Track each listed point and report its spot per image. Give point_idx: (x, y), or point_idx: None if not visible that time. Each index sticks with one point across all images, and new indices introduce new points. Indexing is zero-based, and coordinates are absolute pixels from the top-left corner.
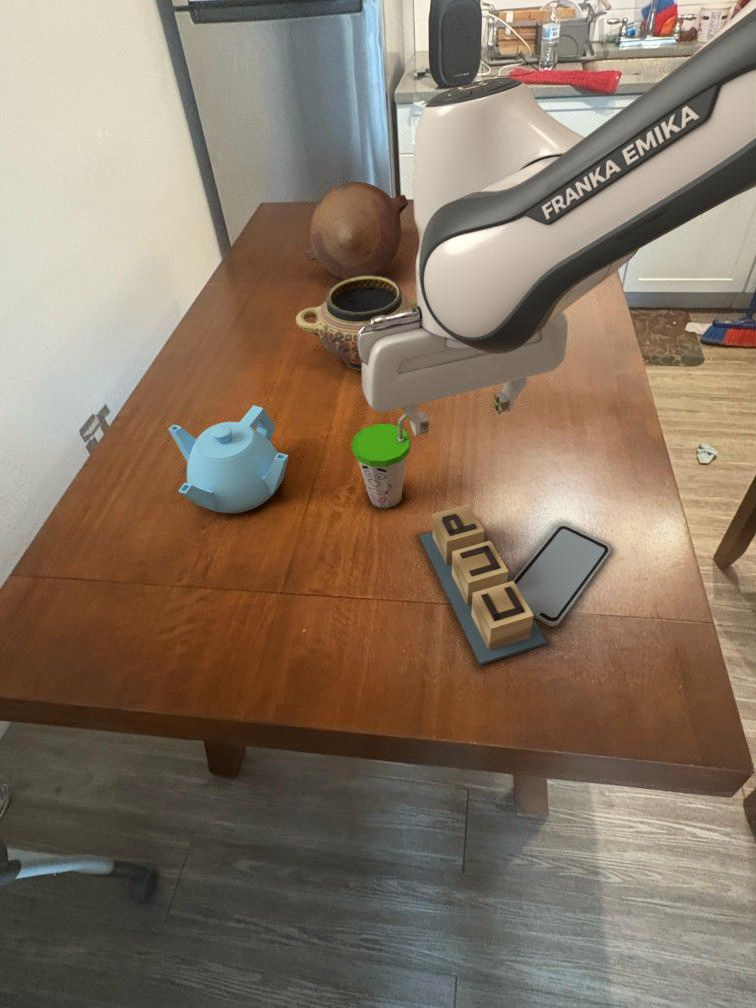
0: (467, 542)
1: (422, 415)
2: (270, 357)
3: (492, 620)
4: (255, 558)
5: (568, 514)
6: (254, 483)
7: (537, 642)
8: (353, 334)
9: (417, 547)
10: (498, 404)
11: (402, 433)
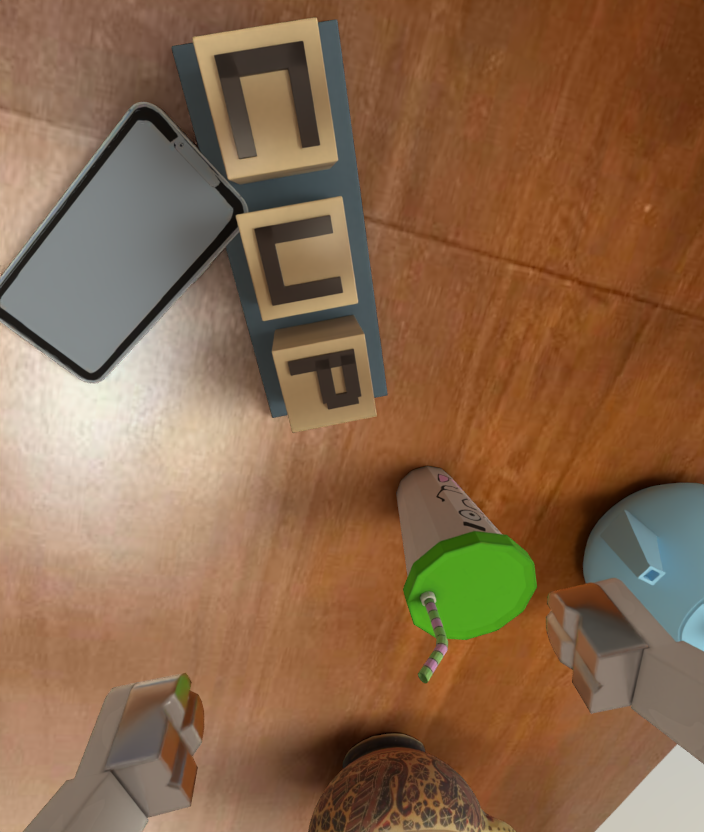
0: (312, 337)
1: (610, 689)
2: (527, 756)
3: (307, 46)
4: (671, 388)
5: (76, 410)
6: (673, 527)
7: (194, 49)
8: (437, 825)
9: (395, 371)
10: (179, 733)
11: (429, 612)
